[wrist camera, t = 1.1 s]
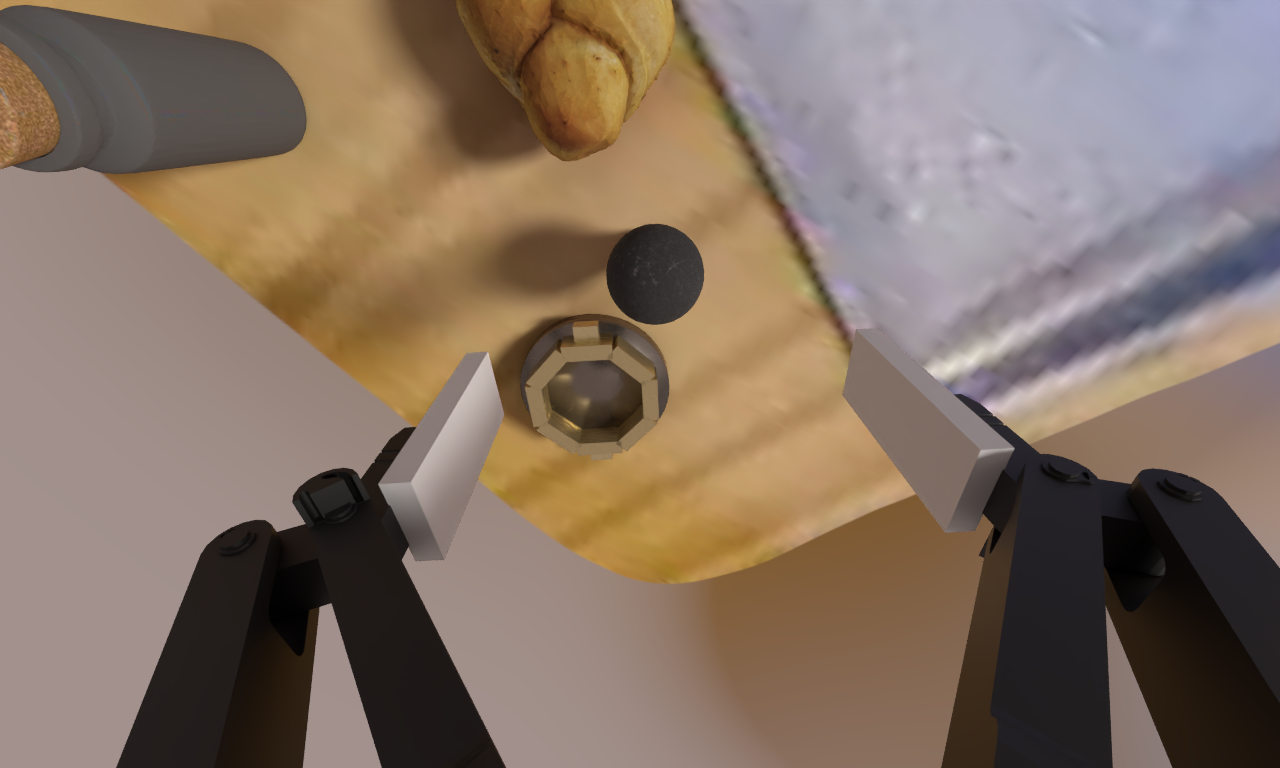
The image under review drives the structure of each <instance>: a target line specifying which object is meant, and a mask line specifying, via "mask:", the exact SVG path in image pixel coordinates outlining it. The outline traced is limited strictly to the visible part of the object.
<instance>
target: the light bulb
mask: <svg viewBox="0 0 1280 768" xmlns="http://www.w3.org/2000/svg"><path fill="white" fill-rule="evenodd" d="M606 271H607V273H606V276H607V285H608V289H609V292H610V295H611V297H612V299H613V300H614V302H615V304H616V305H617V306H618V307H619V309H620V310H621V311H622V312H623V313H625V314H626V315H627V316H628V317H630V318H632V319H634V320H635V321H638V322H641V323H645V324H652V325H657V324H665V323H668V322H672V321H674V320H676V319H678V318H680V317H682V316H683V315H684V314H685V313H687V312H688V311H689V310H690V309H691V308H692V307H693V305H694V304H695V302H696V301H697V299H698V297H699V295H700V292H701V290H702V286H703V281H704V268H703V262H702V258H701V256H700V253H699V251H698V249H697V247H696V246H695V244H694V243H693V241H692V240H691V239H690V238H688V237H687V236H686V235H685V234H684V233H683V232H681V231H679V230H678V229H676V228H673V227H670V226H667V225H662V224H648V225H643V226H641V227H638V228H635V229H633V230H632V231H630V232H629V233H627V234H626V235H625V236H623V237H622V238H621V239H620V240H619V242H618V243H617V244H616V245H615V247H614V248H613V251H612V252H611V254H610V257H609V260H608V264H607V269H606Z"/></svg>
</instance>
